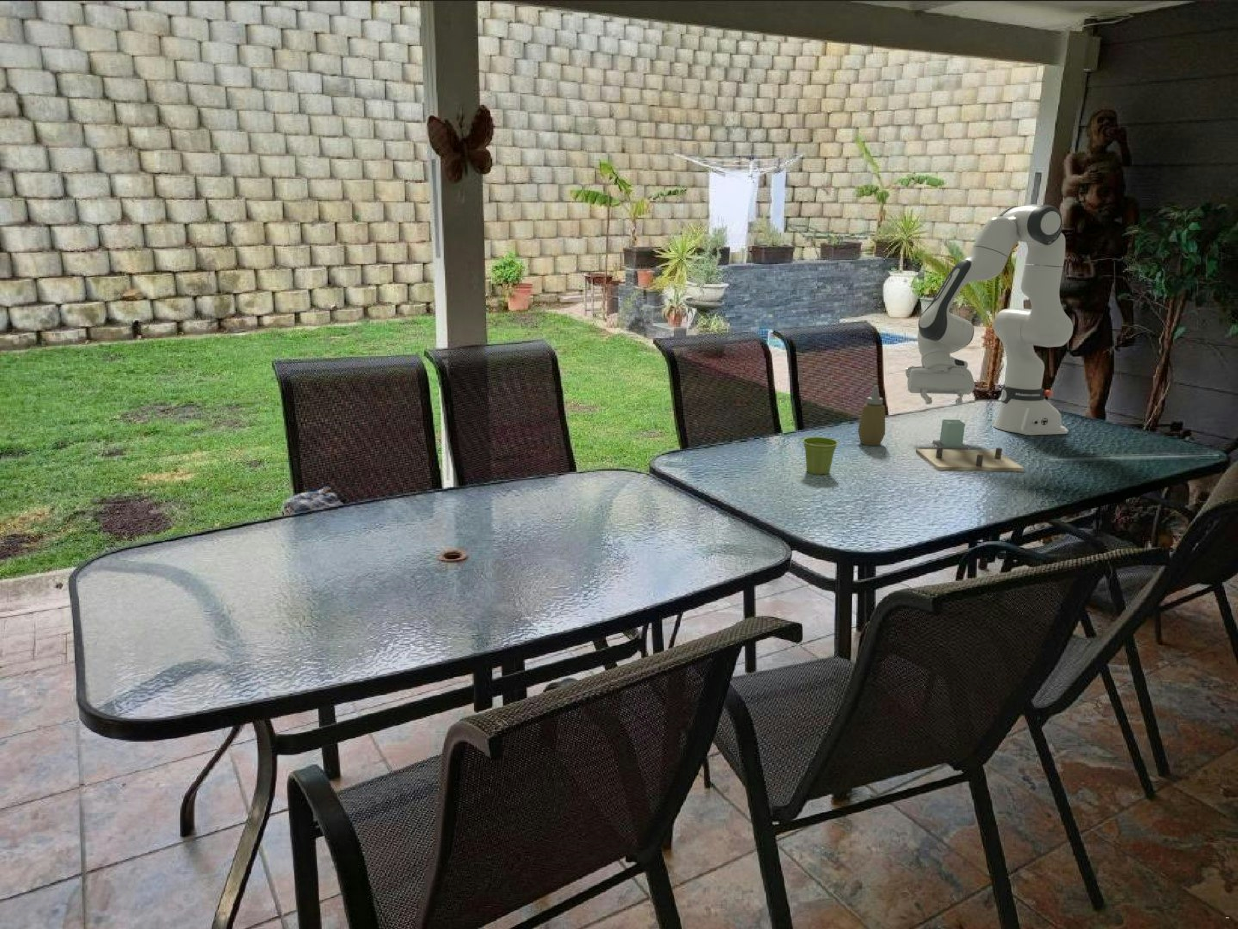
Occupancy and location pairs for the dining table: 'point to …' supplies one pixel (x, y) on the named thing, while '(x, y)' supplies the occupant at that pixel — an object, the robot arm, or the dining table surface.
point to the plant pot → (819, 454)
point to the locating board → (968, 460)
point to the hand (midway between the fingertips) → (944, 403)
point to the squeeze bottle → (872, 420)
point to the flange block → (951, 435)
